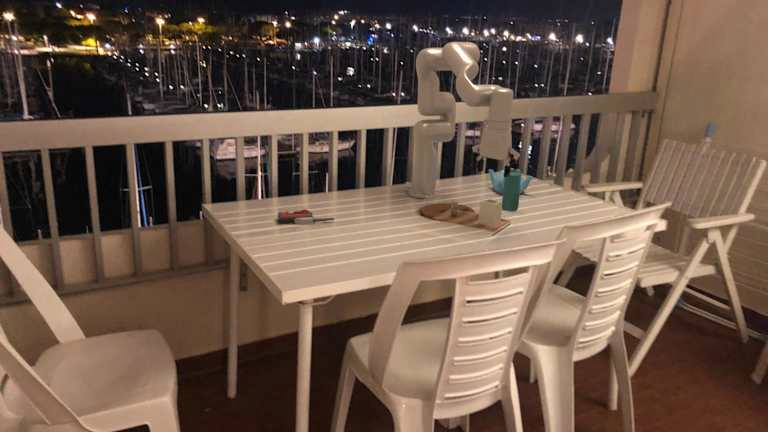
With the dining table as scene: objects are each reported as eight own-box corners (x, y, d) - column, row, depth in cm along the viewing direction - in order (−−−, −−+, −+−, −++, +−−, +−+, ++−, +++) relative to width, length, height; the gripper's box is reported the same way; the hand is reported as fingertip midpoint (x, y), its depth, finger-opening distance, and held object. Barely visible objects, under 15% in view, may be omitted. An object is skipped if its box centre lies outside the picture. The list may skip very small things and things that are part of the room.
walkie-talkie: (278, 227, 208) (334, 223, 214) (278, 215, 207) (334, 211, 213) (274, 219, 216) (329, 216, 222) (274, 207, 215) (329, 204, 221)
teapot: (485, 187, 270) (487, 163, 267) (517, 186, 273) (519, 163, 270) (498, 196, 256) (500, 171, 253) (531, 196, 259) (534, 171, 256)
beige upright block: (478, 223, 215) (480, 201, 212) (484, 219, 219) (486, 198, 217) (493, 226, 212) (496, 204, 209) (500, 222, 216) (502, 201, 214)
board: (431, 221, 219) (432, 204, 217) (451, 211, 232) (452, 195, 230) (493, 235, 207) (494, 217, 205) (510, 224, 220) (512, 207, 218)
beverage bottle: (517, 215, 231) (523, 164, 225) (500, 214, 232) (505, 163, 226) (517, 210, 237) (523, 160, 231) (500, 209, 238) (505, 159, 232)
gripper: (470, 122, 206) (465, 171, 212) (518, 130, 198) (512, 180, 203) (479, 120, 212) (474, 167, 218) (526, 127, 204) (520, 176, 209)
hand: (493, 173), depth 211 cm, fingers open, 9 cm apart
